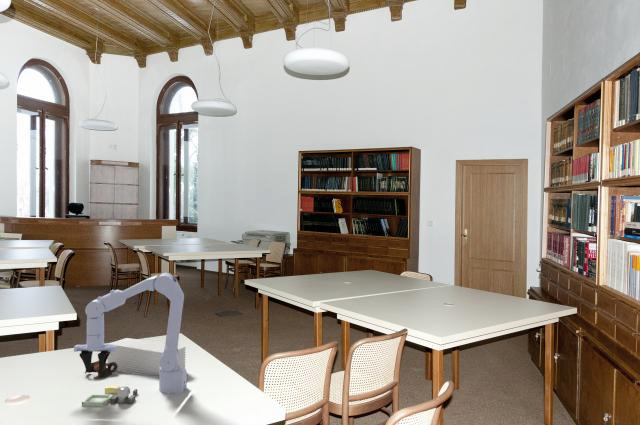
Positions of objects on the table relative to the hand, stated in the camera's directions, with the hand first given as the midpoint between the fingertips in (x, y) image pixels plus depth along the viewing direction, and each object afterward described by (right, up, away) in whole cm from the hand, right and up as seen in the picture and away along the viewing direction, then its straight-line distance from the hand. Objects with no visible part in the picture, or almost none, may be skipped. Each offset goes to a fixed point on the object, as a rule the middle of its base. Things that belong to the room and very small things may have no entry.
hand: (95, 371), depth 173 cm
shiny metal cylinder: (+13, -9, -7) cm, 17 cm away
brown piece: (-7, -10, +20) cm, 23 cm away
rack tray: (+4, -9, -7) cm, 12 cm away
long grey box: (+8, -10, +30) cm, 32 cm away
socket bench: (+9, -10, -3) cm, 13 cm away
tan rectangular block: (+6, -8, 0) cm, 10 cm away
